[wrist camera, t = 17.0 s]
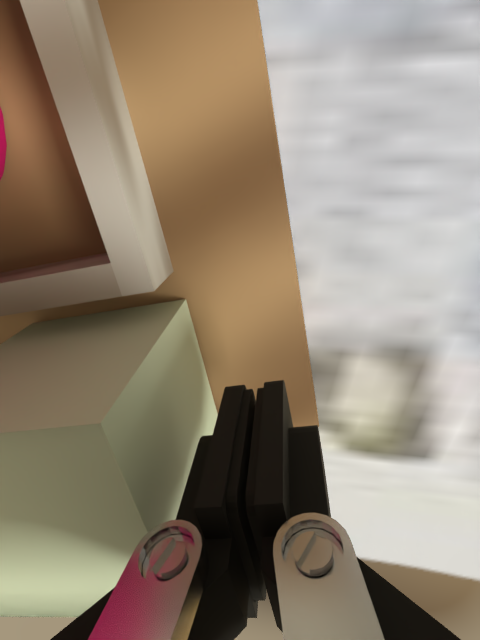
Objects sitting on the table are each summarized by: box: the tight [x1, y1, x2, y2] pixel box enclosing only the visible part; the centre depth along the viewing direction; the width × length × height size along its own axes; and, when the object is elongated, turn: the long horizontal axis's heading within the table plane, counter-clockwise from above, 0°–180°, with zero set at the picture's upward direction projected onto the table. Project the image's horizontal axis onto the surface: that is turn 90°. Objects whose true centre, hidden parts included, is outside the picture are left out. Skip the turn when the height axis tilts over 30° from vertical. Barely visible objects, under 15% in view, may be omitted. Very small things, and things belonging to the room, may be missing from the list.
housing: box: [0, 299, 218, 617], centre depth 11 cm, size 6×6×6 cm
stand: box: [0, 0, 319, 427], centre depth 11 cm, size 19×16×4 cm
